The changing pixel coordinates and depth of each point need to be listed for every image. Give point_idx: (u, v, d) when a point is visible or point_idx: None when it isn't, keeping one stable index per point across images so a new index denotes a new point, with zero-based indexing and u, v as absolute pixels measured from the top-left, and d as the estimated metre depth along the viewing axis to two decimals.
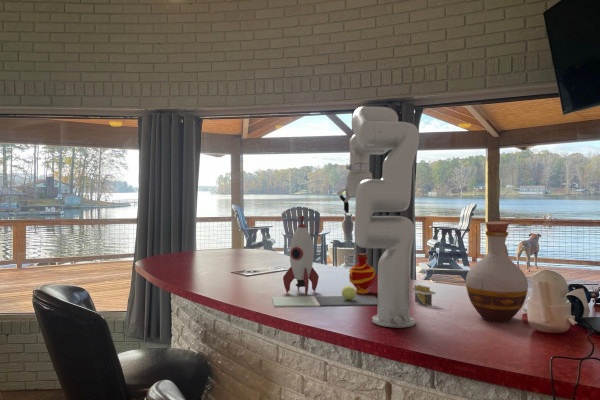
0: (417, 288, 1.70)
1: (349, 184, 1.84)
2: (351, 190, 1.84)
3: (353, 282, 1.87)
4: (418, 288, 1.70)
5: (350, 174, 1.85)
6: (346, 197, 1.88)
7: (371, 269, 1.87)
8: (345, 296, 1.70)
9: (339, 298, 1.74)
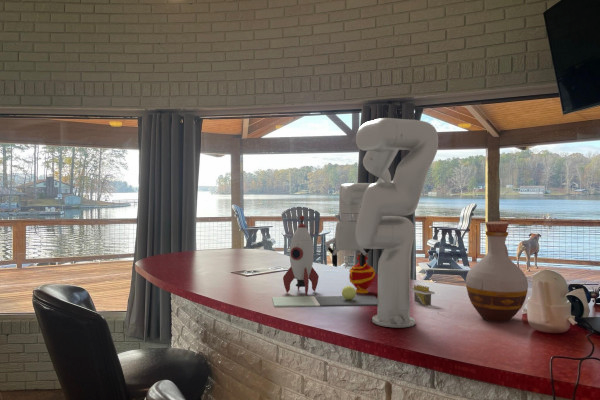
0: (416, 288, 1.71)
1: (338, 236, 1.69)
2: (340, 242, 1.69)
3: (353, 282, 1.87)
4: (417, 288, 1.70)
5: (339, 225, 1.69)
6: (334, 249, 1.73)
7: (371, 269, 1.87)
8: (345, 296, 1.70)
9: (339, 298, 1.74)
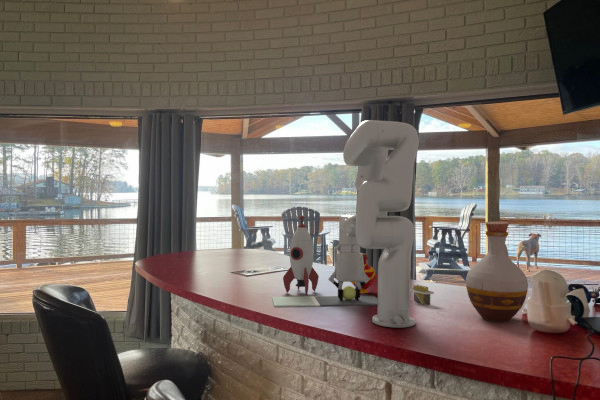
0: (416, 288, 1.71)
1: (338, 267, 1.69)
2: (340, 274, 1.69)
3: (353, 282, 1.87)
4: (416, 288, 1.71)
5: (339, 256, 1.69)
6: (338, 282, 1.72)
7: (371, 269, 1.87)
8: (345, 296, 1.70)
9: None
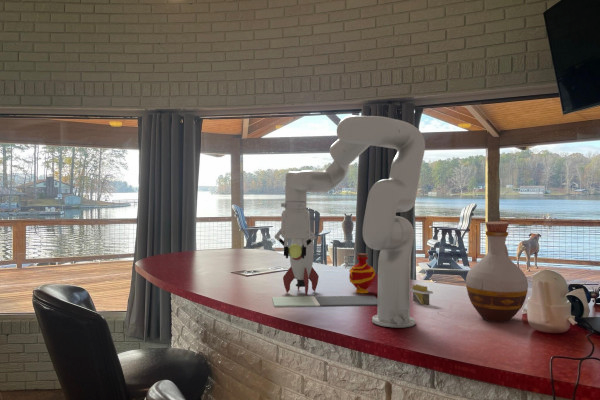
0: (415, 287, 1.71)
1: (283, 224, 1.67)
2: (285, 230, 1.67)
3: (353, 282, 1.87)
4: (415, 288, 1.71)
5: (284, 213, 1.67)
6: (285, 240, 1.70)
7: (371, 269, 1.87)
8: (290, 253, 1.68)
9: (339, 298, 1.74)
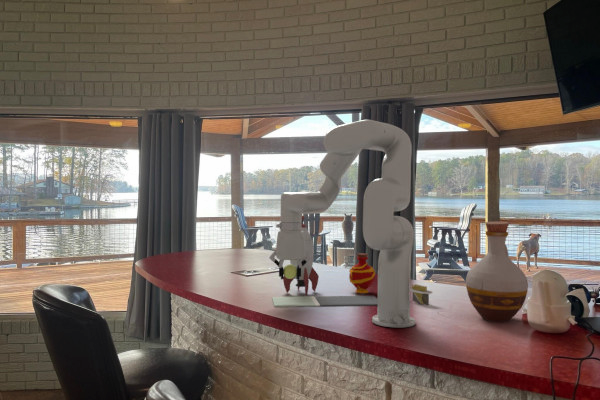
0: (414, 287, 1.71)
1: (278, 245, 1.67)
2: (280, 252, 1.66)
3: (353, 282, 1.87)
4: (415, 288, 1.71)
5: (279, 234, 1.67)
6: (280, 261, 1.70)
7: (371, 269, 1.87)
8: (285, 274, 1.68)
9: (339, 298, 1.74)
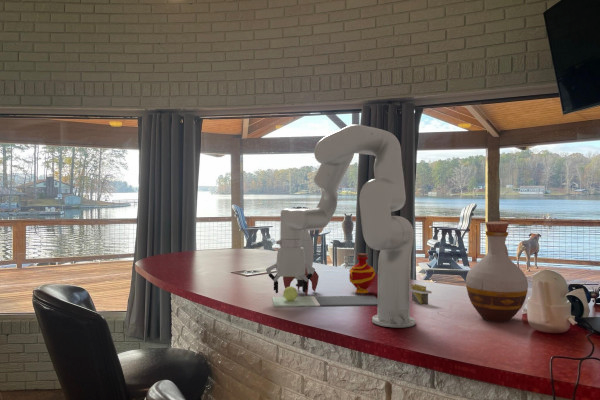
0: (414, 287, 1.72)
1: (278, 262, 1.67)
2: (280, 268, 1.66)
3: (353, 282, 1.87)
4: (414, 288, 1.71)
5: (279, 251, 1.67)
6: (276, 275, 1.70)
7: (371, 269, 1.87)
8: (286, 297, 1.68)
9: (339, 298, 1.74)
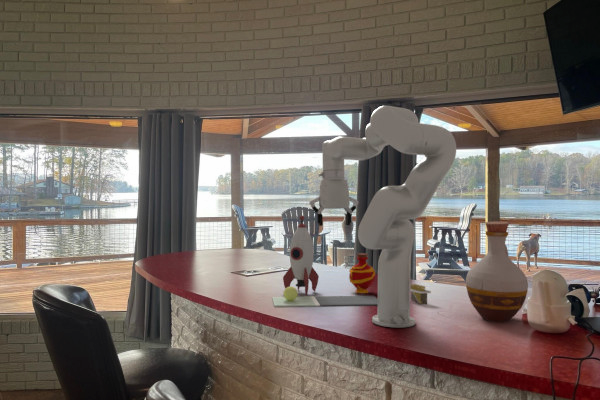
0: (413, 287, 1.72)
1: (322, 193, 1.64)
2: (325, 200, 1.64)
3: (353, 282, 1.87)
4: (414, 287, 1.72)
5: (323, 182, 1.65)
6: (319, 208, 1.67)
7: (371, 269, 1.87)
8: (286, 297, 1.68)
9: (339, 298, 1.74)
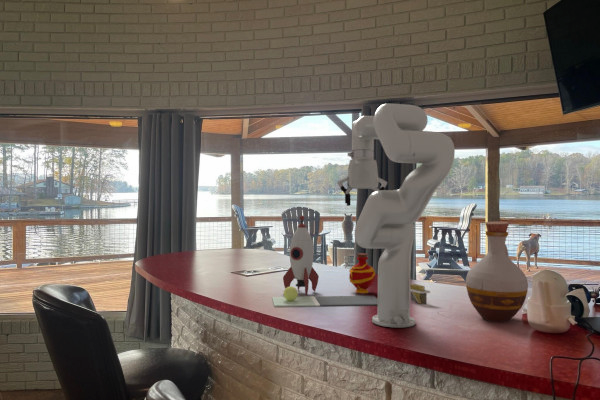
0: (412, 287, 1.72)
1: (351, 173, 1.63)
2: (353, 180, 1.63)
3: (353, 282, 1.87)
4: (413, 287, 1.72)
5: (352, 162, 1.63)
6: (347, 188, 1.66)
7: (371, 269, 1.87)
8: (286, 296, 1.68)
9: (339, 298, 1.74)
